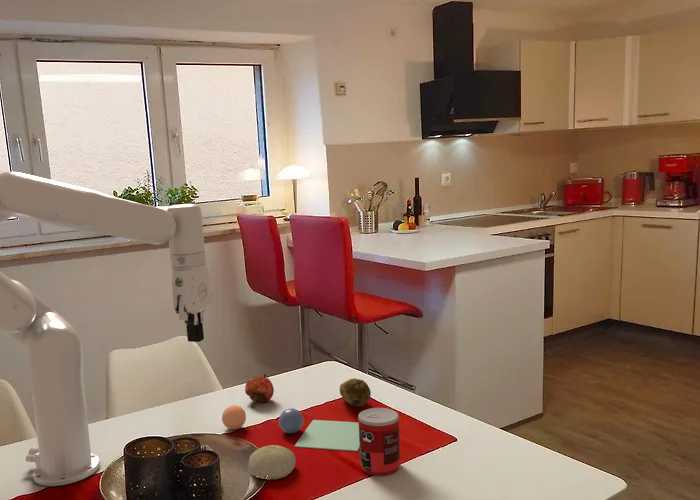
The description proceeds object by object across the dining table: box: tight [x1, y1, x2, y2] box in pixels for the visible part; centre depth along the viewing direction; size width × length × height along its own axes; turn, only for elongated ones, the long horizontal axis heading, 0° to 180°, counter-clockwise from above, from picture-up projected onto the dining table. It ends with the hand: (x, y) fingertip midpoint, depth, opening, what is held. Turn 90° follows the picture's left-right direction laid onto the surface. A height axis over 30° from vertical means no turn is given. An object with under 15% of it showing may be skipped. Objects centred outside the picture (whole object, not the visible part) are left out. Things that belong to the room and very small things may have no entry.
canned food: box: [358, 407, 401, 477], centre depth 126 cm, size 8×8×11 cm
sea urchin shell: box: [248, 444, 296, 481], centre depth 126 cm, size 9×8×8 cm
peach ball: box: [221, 404, 247, 430], centre depth 147 cm, size 6×6×6 cm
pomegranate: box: [244, 373, 275, 409], centre depth 163 cm, size 7×7×10 cm
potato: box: [339, 378, 372, 407], centre depth 158 cm, size 8×13×8 cm, turn 175°
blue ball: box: [278, 407, 304, 434], centre depth 144 cm, size 6×6×6 cm
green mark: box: [294, 419, 360, 452], centre depth 142 cm, size 14×14×1 cm
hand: (195, 340), depth 142 cm, fingers closed
